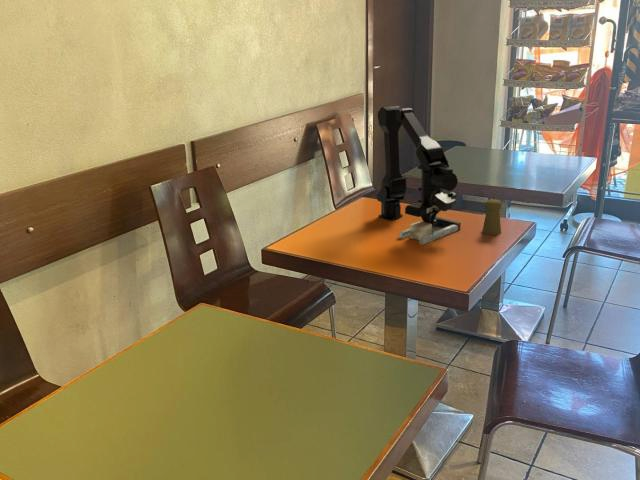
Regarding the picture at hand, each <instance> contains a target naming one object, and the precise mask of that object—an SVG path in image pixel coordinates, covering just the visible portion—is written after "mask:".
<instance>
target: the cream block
mask: <svg viewBox="0 0 640 480" xmlns="http://www.w3.org/2000/svg"><path fill="white" fill-rule="evenodd" d="M409 228H410V236H409V238H410V239H412V240H413V239H414V240H417V241H419V238H420V237H423V236H425V235H428V234H430V233H433V232H432V224H429V223H425V222H423V221H422V220H419V221H416V222H414V223H411V224H410V225H409Z"/></svg>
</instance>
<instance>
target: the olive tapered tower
mask: <svg viewBox="0 0 640 480" xmlns="http://www.w3.org/2000/svg"><path fill="white" fill-rule="evenodd" d="M484 206H485V209H486V212H485V217H484V221H483V227H482V231H481V232H482V233H483V234H485V235H489V236H490V235H491V236H496V235H497V236H498V235H500V234H501V233H502V227H501V225H502V224H501V216H500V215H501V213H500V210H501V209H502V207H503V206H502V202H501V201H500V200H499V199H496V198H495V199H492V198H491V199H488V200H486V202H485V204H484Z"/></svg>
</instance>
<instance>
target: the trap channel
mask: <svg viewBox="0 0 640 480" xmlns="http://www.w3.org/2000/svg"><path fill="white" fill-rule="evenodd" d="M461 224H462V223H461V222H460V221H456V220H452V219H448V218H445V217H440V216H436V217H435V220H434V223H433V225H432V233H430V234H428V235H425V236H423V237H420V238H419V240H418V242H419V243H418V244H419V245H423V246H424V245H425V244H429V243H431V242H433V241H436V240H438V239H441V238H442V237H445V236H448V235H450V234H454V233H455V232H458V231H460V230H461ZM405 237H406V238H408V237H410V227H409V228H406V229H402V230H401V231H399V232H398V238H399V239H402V240H403V239H405Z"/></svg>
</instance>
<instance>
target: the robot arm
mask: <svg viewBox="0 0 640 480" xmlns="http://www.w3.org/2000/svg"><path fill="white" fill-rule="evenodd" d="M377 121H378V126H379V128H380V129H381V131H382V132H383V139H384V159H385V160H384V161H385V175H384V177H383V178H382V180H381V188H380V190H379V191H378V192H377V194H376V200H377V202H380V203H381V204H380V205H381V206H380V212H381V213H380V214H378V218H383V219H385V220H390V221H392V220H393V221H394V220H395V219H398V218H401V217H403V214H401V212H402V211H401V201H403V200H405V196H406V193H407V189H408V187H407V179H406V177H404V176H403V174H402V173H401V162H400V143H399V142H400V139H399V138H400V137H399V131H400V129H401V128H402V127H403V128H404V130H405V131H406V134H408V136H409V138H410V139H411V141H412V142H413V144H414V146H415V154H416V157H417V159H418V161H419V163H420V164H419V165H417V169H418V170H421V173H420V174H421V177H420V179H421V180H420V181H421V182H420V183H421V185H420V186H418V188H417V189H418V191H420V198H419V199H417V202H418V203H419V204H418V203H415V202H413V203H411V204H408V205H406V206H405V207H404V214H405V215H409V216H412V217H413V216H414V217H416V218H417V217H418V218H421V221H422V222H425V223H429V224H432V225H433V223H434V220H435V217H437V216H438V214H439V213H440V212H441V211H442V212H447V211H449V210H452V208H453V206H454V205H455V204H457V194H456V193H455V192H453V191H454V190H455V189H456V188H457V185H458V182H459V181H458V177H457V175H456V173H454V169H453V168H450V165H449V161H448V158H447V157H446V154H445V152H444V149H443V147H442V146H441V145H440V144H439V142H437V141H436V140H434V139H432V138H431V137H430V136H429V135H428V134H427V132H426V131H425V129H424V128H423V127H422V124H421V123H420V121H419V120H418V119H417V117H416V116H415V114H414V110H413V108H411V107H400V105H389V106H382V107H380V108H379V110H378V112H377ZM443 190H444V191H446V192H449V193H444V192H443ZM451 191H452V192H451Z"/></svg>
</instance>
